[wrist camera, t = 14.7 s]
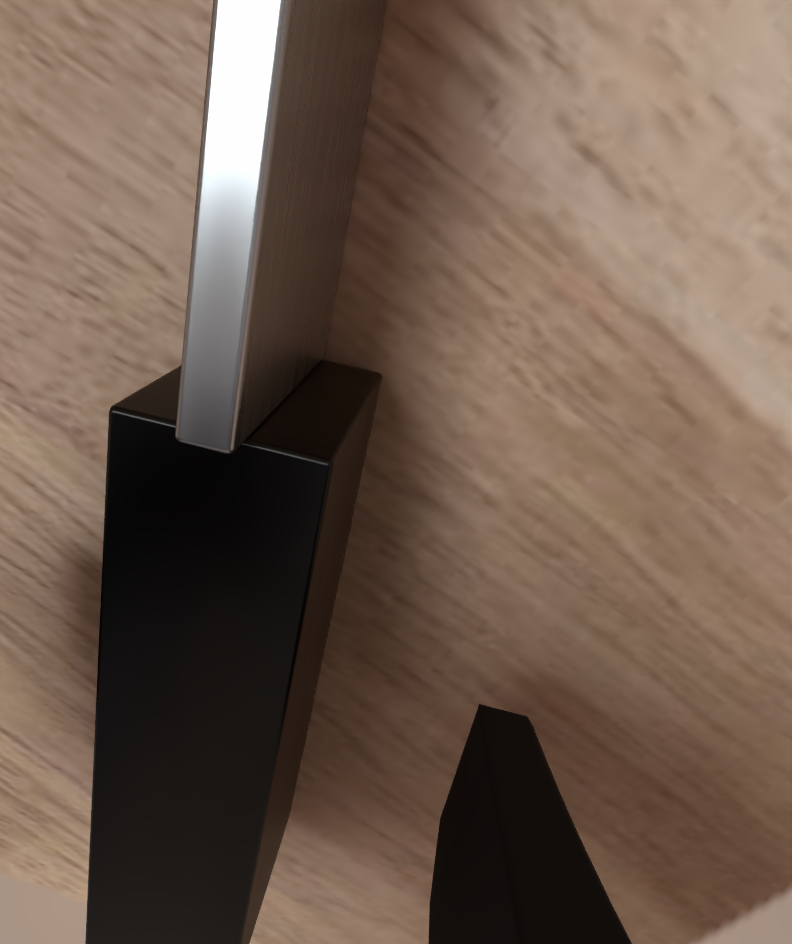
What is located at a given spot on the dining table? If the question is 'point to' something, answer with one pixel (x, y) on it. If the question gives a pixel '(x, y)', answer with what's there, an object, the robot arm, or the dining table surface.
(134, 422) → the cake knife
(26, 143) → the dining table surface
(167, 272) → the dining table surface
